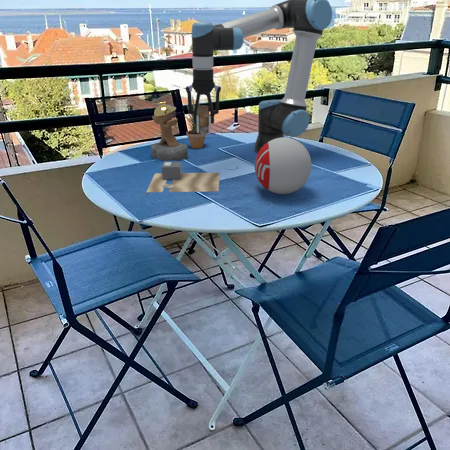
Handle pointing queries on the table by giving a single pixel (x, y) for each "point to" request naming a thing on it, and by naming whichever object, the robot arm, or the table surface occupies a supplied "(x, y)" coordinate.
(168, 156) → the figurine
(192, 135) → the potted plant
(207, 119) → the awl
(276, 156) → the decorative sphere
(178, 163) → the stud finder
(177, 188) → the board
